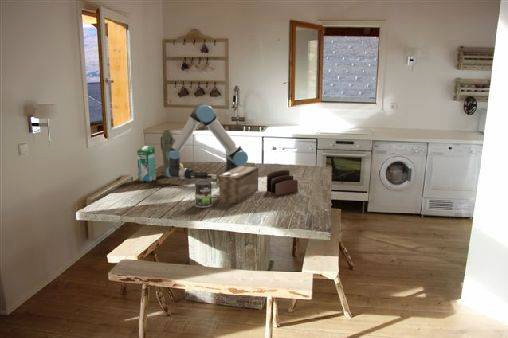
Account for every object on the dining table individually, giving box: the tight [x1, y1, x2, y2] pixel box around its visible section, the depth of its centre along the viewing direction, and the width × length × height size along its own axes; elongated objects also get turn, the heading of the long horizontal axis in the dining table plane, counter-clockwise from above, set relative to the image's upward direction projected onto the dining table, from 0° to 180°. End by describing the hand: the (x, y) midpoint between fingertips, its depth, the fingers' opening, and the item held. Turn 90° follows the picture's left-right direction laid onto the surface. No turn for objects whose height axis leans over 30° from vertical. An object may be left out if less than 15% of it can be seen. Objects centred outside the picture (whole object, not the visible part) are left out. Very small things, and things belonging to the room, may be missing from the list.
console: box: [217, 165, 259, 204], centre depth 303 cm, size 14×33×17 cm, turn 158°
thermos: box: [160, 129, 176, 178], centre depth 353 cm, size 9×12×35 cm
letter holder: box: [266, 169, 299, 196], centre depth 312 cm, size 10×20×14 cm, turn 127°
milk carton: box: [136, 145, 157, 183], centre depth 339 cm, size 9×9×25 cm
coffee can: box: [194, 180, 212, 209], centre depth 281 cm, size 10×10×14 cm
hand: (216, 176), depth 320 cm, fingers closed
